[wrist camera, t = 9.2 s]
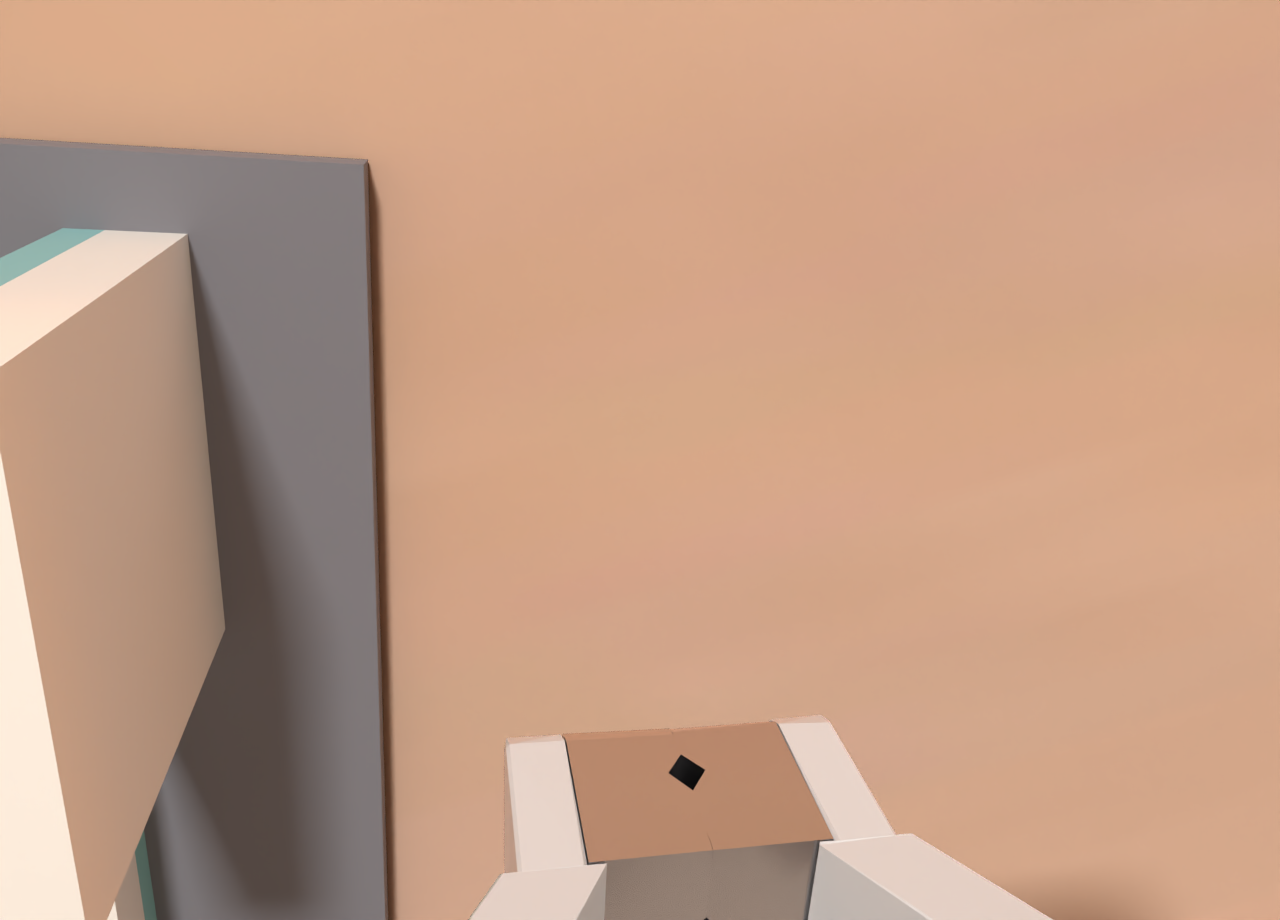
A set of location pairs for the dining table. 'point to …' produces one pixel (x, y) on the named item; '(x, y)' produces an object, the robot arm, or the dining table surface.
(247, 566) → the mat
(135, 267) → the tile
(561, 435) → the dining table surface
